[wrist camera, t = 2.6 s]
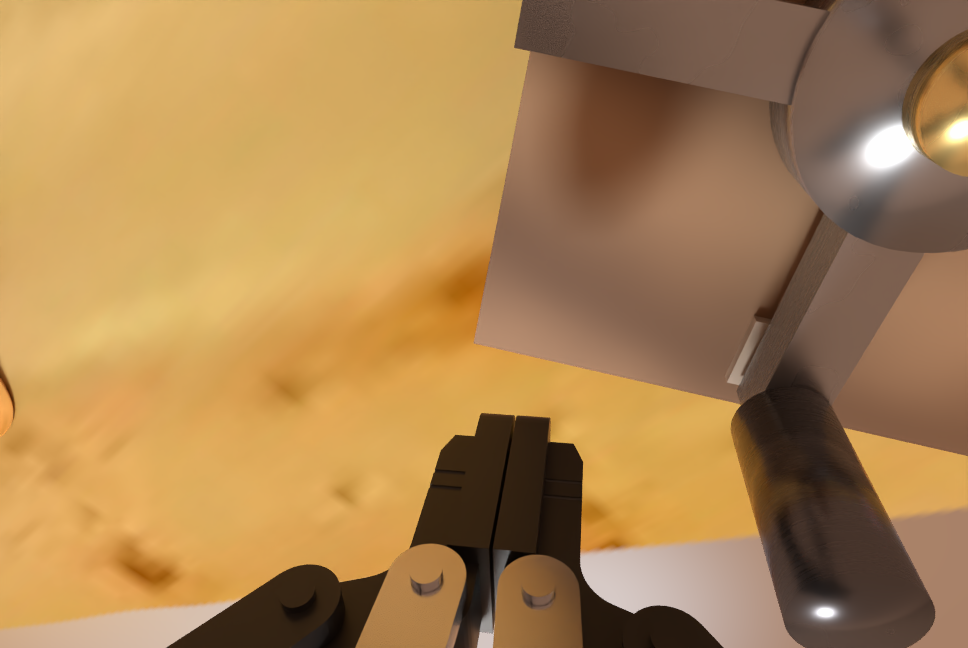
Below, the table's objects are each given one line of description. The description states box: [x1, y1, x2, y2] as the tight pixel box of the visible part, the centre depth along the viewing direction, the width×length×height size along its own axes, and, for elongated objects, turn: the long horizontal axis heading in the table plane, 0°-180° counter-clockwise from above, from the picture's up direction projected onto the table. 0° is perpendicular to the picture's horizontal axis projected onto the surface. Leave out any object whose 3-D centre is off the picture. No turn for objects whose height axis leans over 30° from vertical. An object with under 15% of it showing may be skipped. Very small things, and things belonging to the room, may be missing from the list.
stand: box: [474, 0, 968, 456], centre depth 14 cm, size 18×17×2 cm
